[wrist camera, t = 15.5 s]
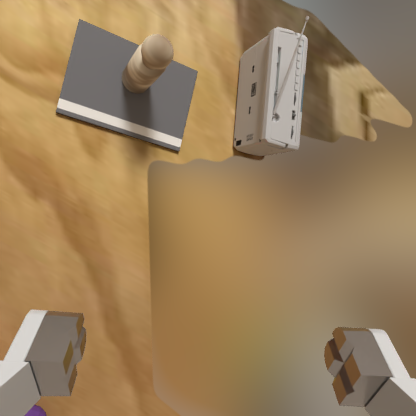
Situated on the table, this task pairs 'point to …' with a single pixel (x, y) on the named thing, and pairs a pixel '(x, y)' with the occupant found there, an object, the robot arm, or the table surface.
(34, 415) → the kendama
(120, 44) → the mat
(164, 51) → the skittle
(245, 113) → the stereo radio cassette player
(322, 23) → the table surface
